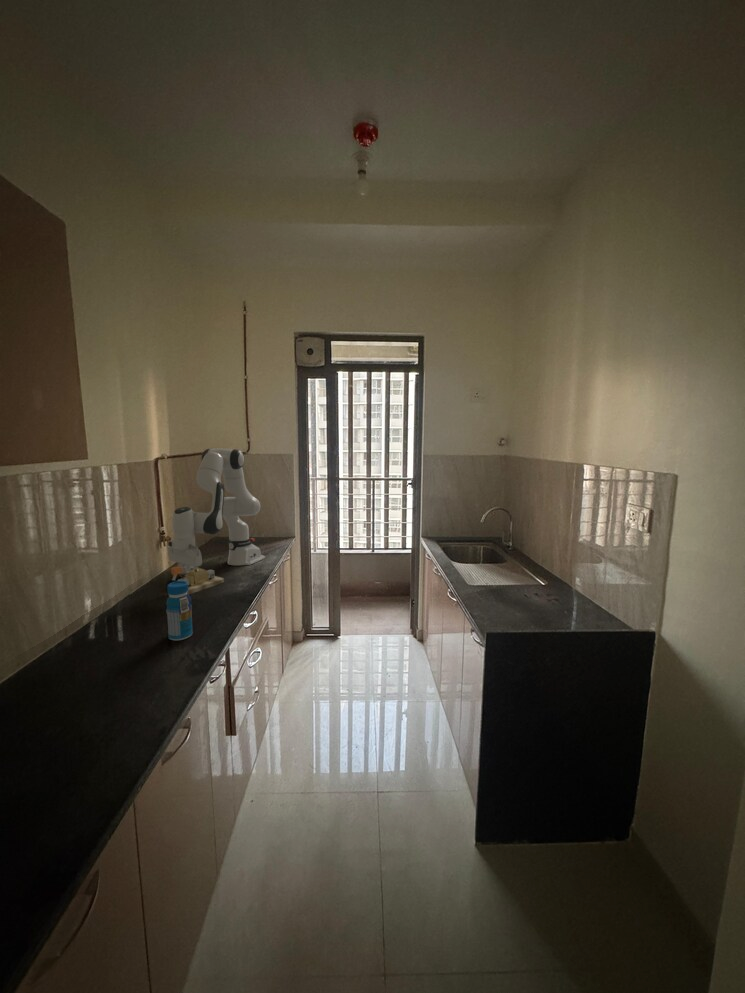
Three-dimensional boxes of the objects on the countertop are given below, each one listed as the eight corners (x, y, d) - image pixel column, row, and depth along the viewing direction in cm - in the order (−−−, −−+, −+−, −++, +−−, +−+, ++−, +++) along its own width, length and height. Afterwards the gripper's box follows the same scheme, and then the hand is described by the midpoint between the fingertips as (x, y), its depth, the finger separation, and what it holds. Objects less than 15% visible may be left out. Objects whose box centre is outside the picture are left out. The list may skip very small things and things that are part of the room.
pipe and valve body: (209, 576, 203) (208, 561, 201) (216, 578, 200) (215, 562, 199) (176, 587, 187) (175, 570, 186) (183, 589, 185) (182, 572, 183)
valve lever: (197, 566, 194) (196, 560, 194) (200, 567, 193) (200, 561, 193) (171, 574, 183) (170, 568, 183) (174, 575, 182) (174, 569, 181)
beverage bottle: (165, 642, 140) (161, 589, 137) (170, 631, 148) (167, 580, 145) (191, 639, 142) (188, 586, 139) (195, 629, 150) (192, 578, 147)
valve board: (209, 577, 206) (208, 574, 206) (224, 582, 200) (223, 578, 200) (168, 591, 188) (168, 587, 187) (184, 596, 181) (183, 592, 181)
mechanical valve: (202, 569, 211) (190, 554, 199) (192, 600, 199) (178, 585, 188) (183, 570, 211) (170, 555, 200) (172, 601, 199) (158, 586, 188)
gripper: (205, 545, 176) (206, 574, 178) (177, 539, 187) (179, 567, 188) (192, 548, 171) (193, 578, 173) (165, 541, 181) (166, 570, 183)
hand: (186, 572), depth 181 cm, fingers closed
